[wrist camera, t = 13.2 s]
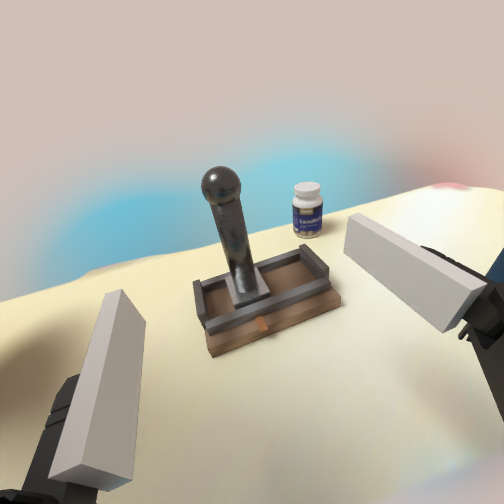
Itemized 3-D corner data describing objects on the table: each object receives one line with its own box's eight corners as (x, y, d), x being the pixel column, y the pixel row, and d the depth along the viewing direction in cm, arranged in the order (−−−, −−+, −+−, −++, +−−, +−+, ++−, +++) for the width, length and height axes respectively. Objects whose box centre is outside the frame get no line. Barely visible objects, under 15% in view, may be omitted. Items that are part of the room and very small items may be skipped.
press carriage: (236, 314, 28) (193, 181, 18) (227, 287, 33) (188, 167, 22) (271, 301, 29) (249, 166, 19) (258, 276, 34) (233, 156, 23)
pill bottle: (301, 242, 43) (299, 194, 37) (289, 229, 47) (286, 185, 42) (327, 234, 43) (329, 186, 38) (313, 222, 48) (313, 178, 42)
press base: (212, 361, 26) (200, 338, 23) (200, 290, 36) (190, 268, 33) (341, 309, 29) (345, 283, 26) (296, 257, 39) (295, 234, 36)
